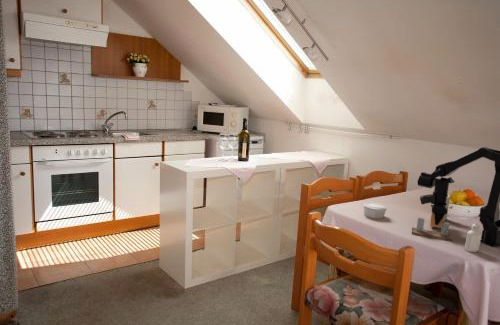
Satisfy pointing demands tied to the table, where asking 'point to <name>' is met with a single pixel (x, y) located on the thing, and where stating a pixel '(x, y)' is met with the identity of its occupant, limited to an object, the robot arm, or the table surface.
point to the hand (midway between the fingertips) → (436, 223)
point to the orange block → (432, 221)
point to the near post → (444, 229)
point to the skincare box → (446, 207)
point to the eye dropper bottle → (473, 239)
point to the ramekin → (374, 210)
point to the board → (431, 234)
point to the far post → (420, 225)
